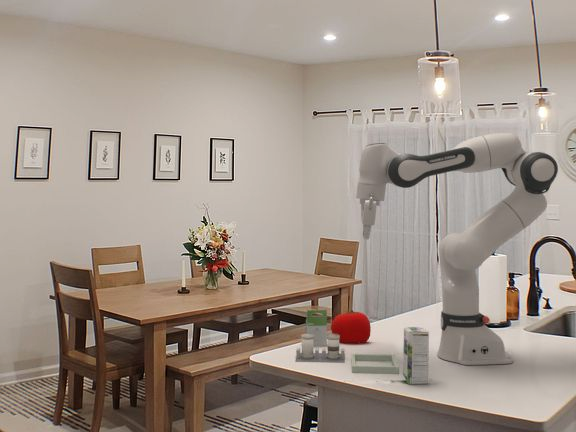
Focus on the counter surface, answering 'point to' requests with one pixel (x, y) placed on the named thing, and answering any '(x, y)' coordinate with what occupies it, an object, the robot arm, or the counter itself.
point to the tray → (374, 369)
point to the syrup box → (416, 355)
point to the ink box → (317, 327)
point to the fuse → (333, 346)
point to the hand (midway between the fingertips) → (365, 237)
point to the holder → (308, 353)
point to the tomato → (351, 327)
